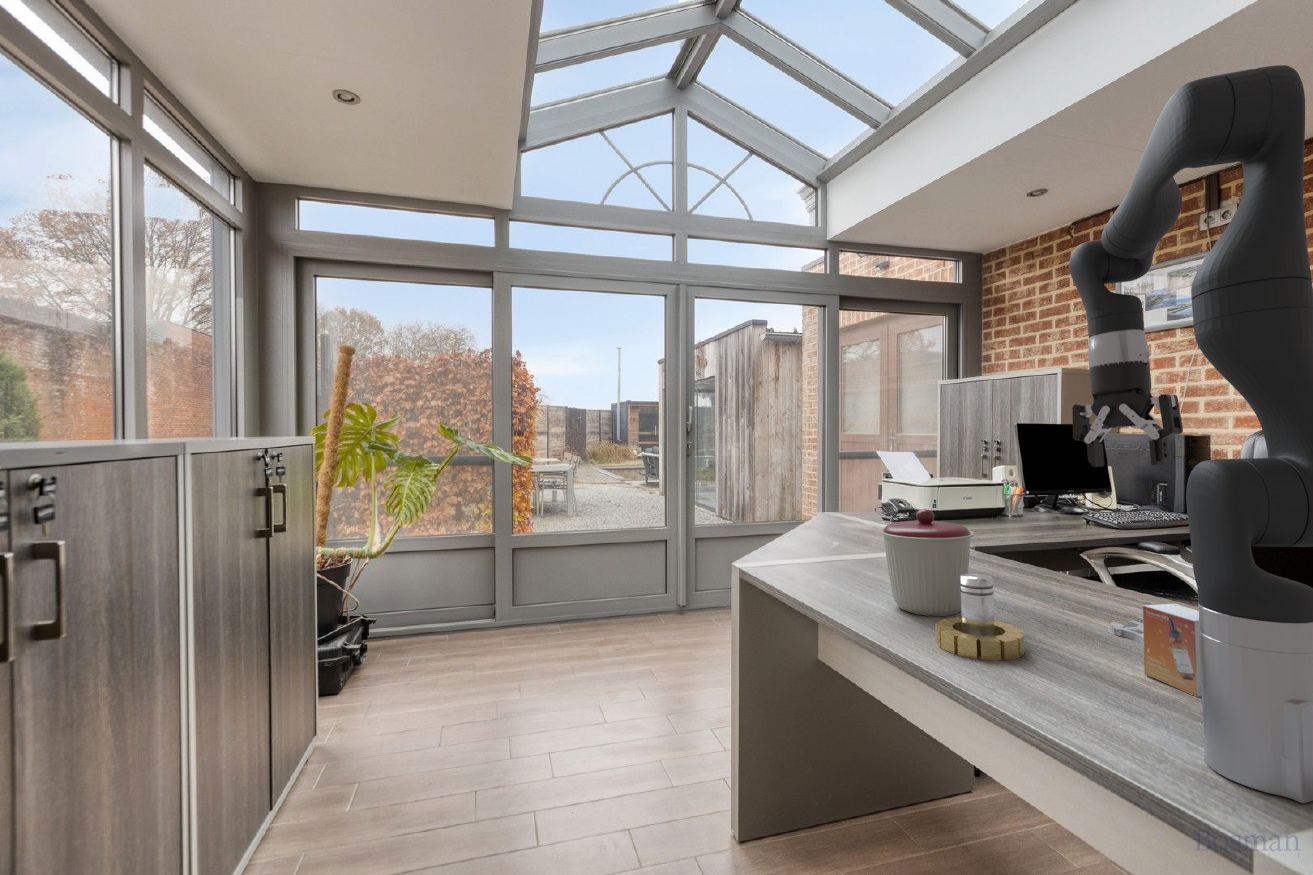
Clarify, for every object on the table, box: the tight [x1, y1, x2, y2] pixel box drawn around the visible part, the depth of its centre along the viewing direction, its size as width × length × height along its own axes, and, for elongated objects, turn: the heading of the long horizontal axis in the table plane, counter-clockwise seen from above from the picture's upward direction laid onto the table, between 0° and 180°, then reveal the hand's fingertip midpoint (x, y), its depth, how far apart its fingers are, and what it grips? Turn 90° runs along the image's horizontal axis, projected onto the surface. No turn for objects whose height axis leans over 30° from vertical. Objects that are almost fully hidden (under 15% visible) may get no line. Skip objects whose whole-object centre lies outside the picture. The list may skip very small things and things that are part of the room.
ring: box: [934, 616, 1026, 661], centre depth 103 cm, size 13×13×3 cm
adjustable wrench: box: [1110, 620, 1144, 646], centre depth 99 cm, size 25×6×2 cm, turn 159°
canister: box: [879, 508, 975, 617], centre depth 126 cm, size 18×18×21 cm
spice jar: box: [960, 573, 995, 636], centre depth 103 cm, size 5×5×12 cm
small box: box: [1142, 603, 1202, 698], centre depth 85 cm, size 8×6×10 cm
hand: (1127, 465), depth 93 cm, fingers open, 8 cm apart
